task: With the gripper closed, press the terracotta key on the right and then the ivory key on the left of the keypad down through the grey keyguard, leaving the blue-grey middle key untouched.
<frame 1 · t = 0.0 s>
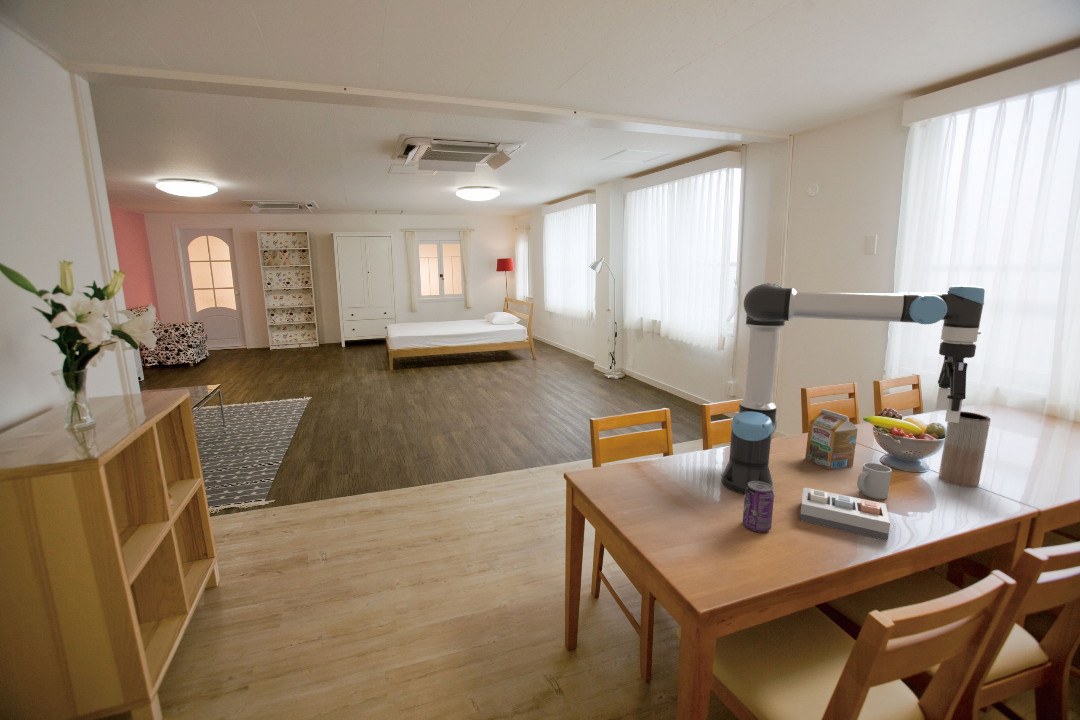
hand: (946, 415, 135), 28 cm above the table, fingers open, 13 cm apart
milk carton: (828, 463, 172), on the table
beverage can: (756, 527, 128), on the table
key mid: (843, 503, 131), point 5 cm above the table, slide at 0.0 cm
cup: (869, 495, 147), on the table
key right: (869, 508, 128), point 5 cm above the table, slide at 0.0 cm
planter: (958, 481, 157), on the table
keypad: (841, 520, 132), on the table
key left: (818, 498, 134), point 5 cm above the table, slide at 0.0 cm
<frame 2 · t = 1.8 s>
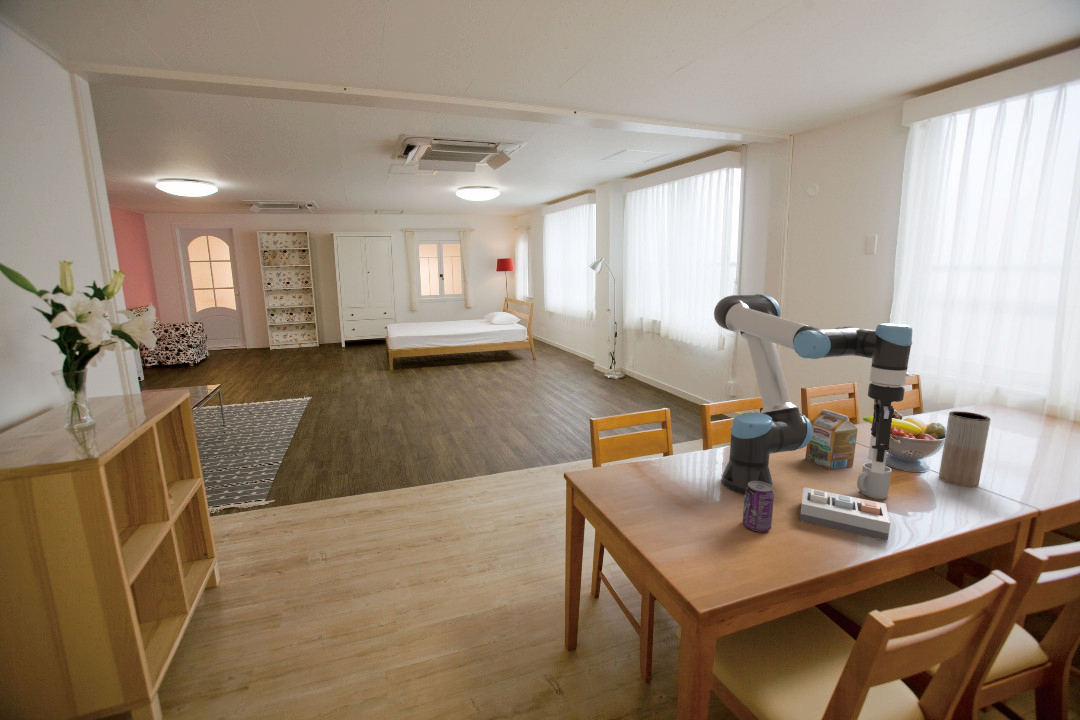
hand: (875, 465, 126), 17 cm above the table, fingers open, 9 cm apart
nothing on the table moved.
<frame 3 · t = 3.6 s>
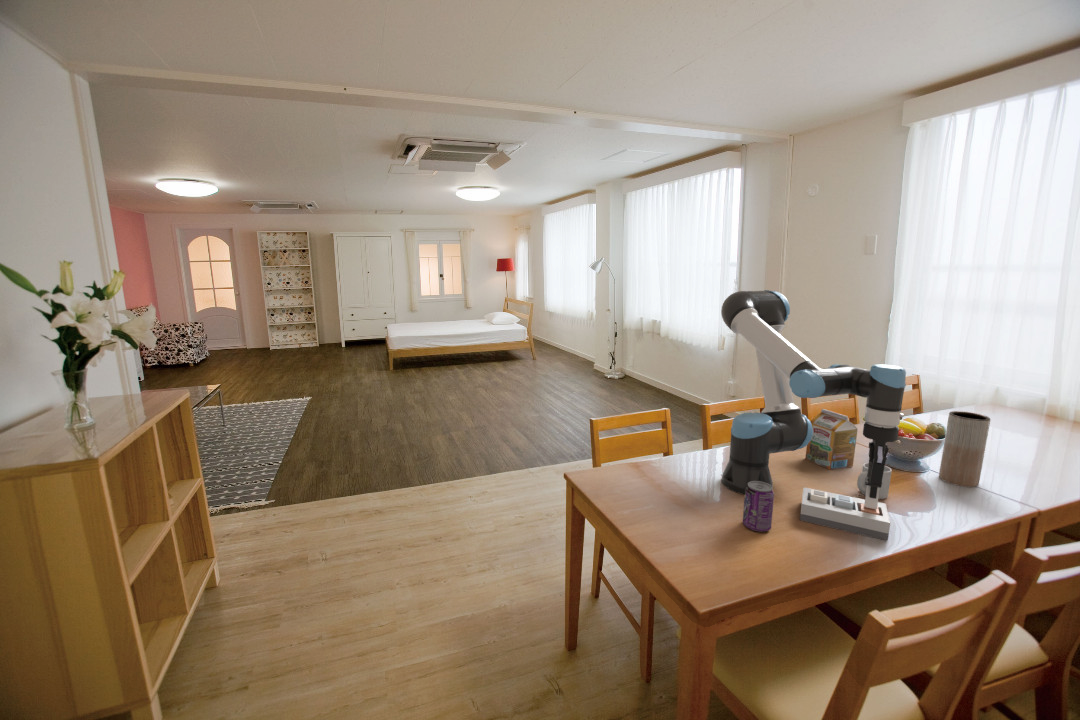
hand: (870, 507, 128), 6 cm above the table, fingers closed
key right: (869, 513, 128), point 4 cm above the table, slide at 1.3 cm
everything else where it was.
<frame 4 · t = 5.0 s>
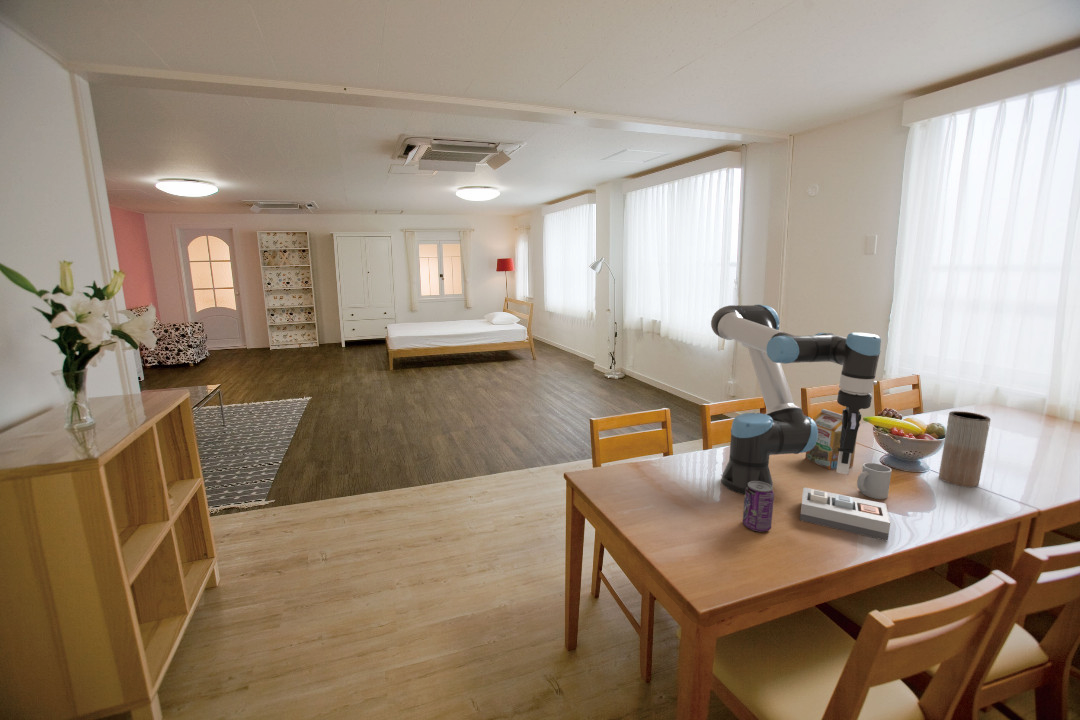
hand: (842, 472, 131), 14 cm above the table, fingers closed
nothing on the table moved.
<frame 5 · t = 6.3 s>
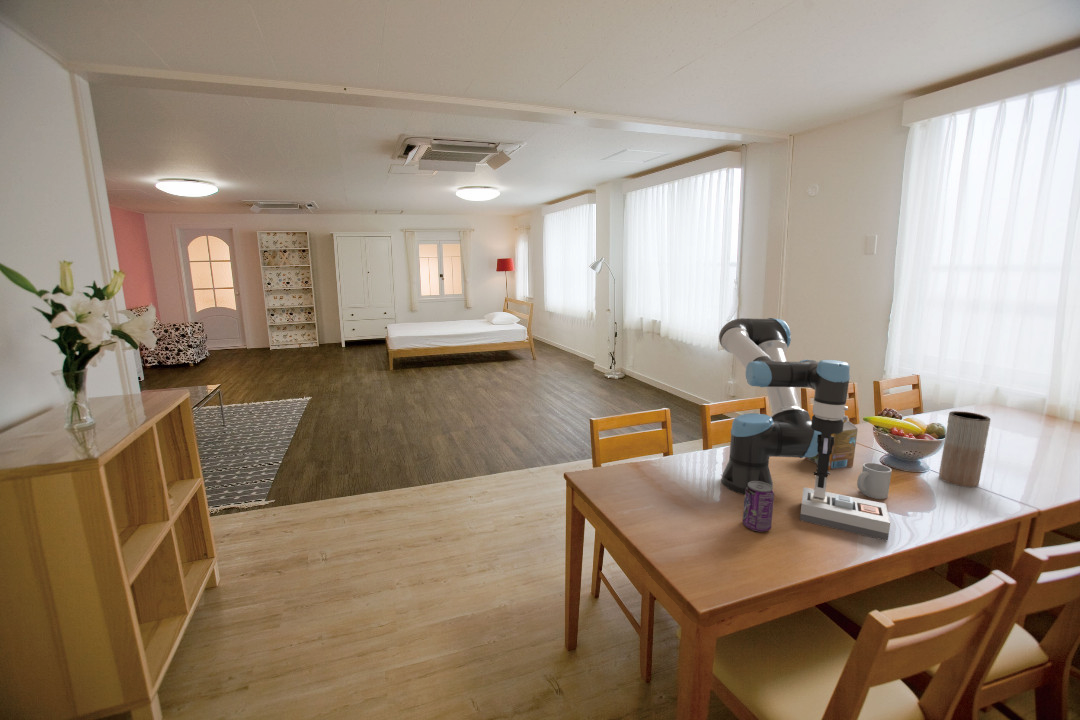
hand: (819, 496, 134), 6 cm above the table, fingers closed
key left: (818, 502, 134), point 4 cm above the table, slide at 1.2 cm, touching gripper
everything else where it was.
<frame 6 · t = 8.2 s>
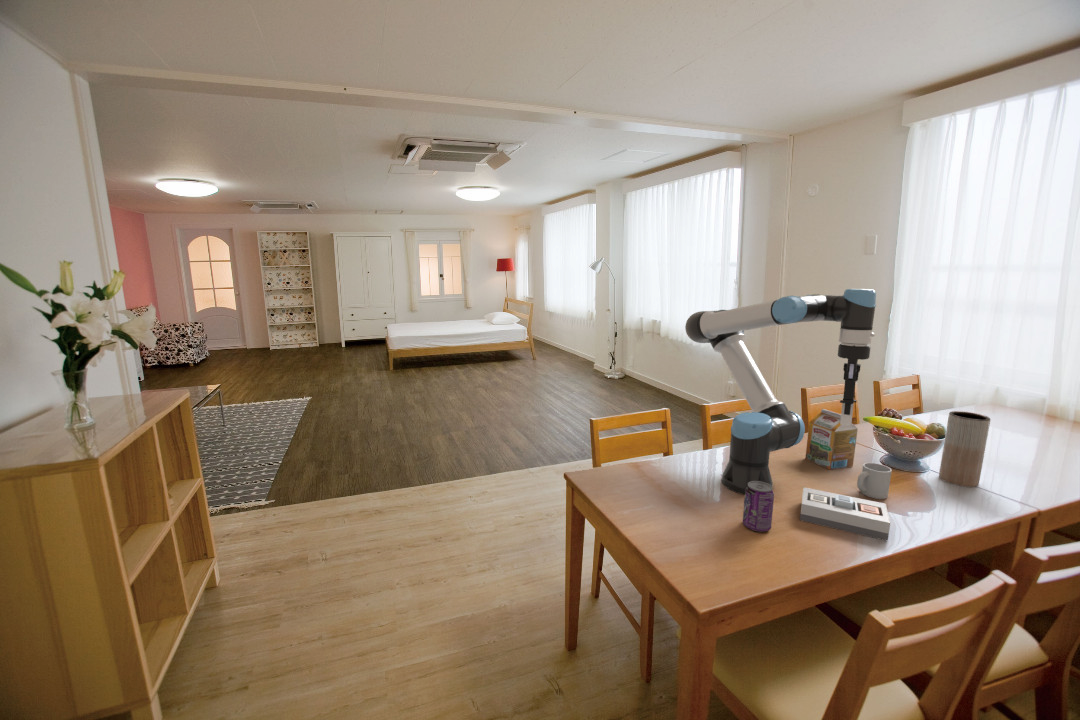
hand: (845, 424, 137), 25 cm above the table, fingers closed
key left: (818, 502, 134), point 4 cm above the table, slide at 1.4 cm
everything else where it was.
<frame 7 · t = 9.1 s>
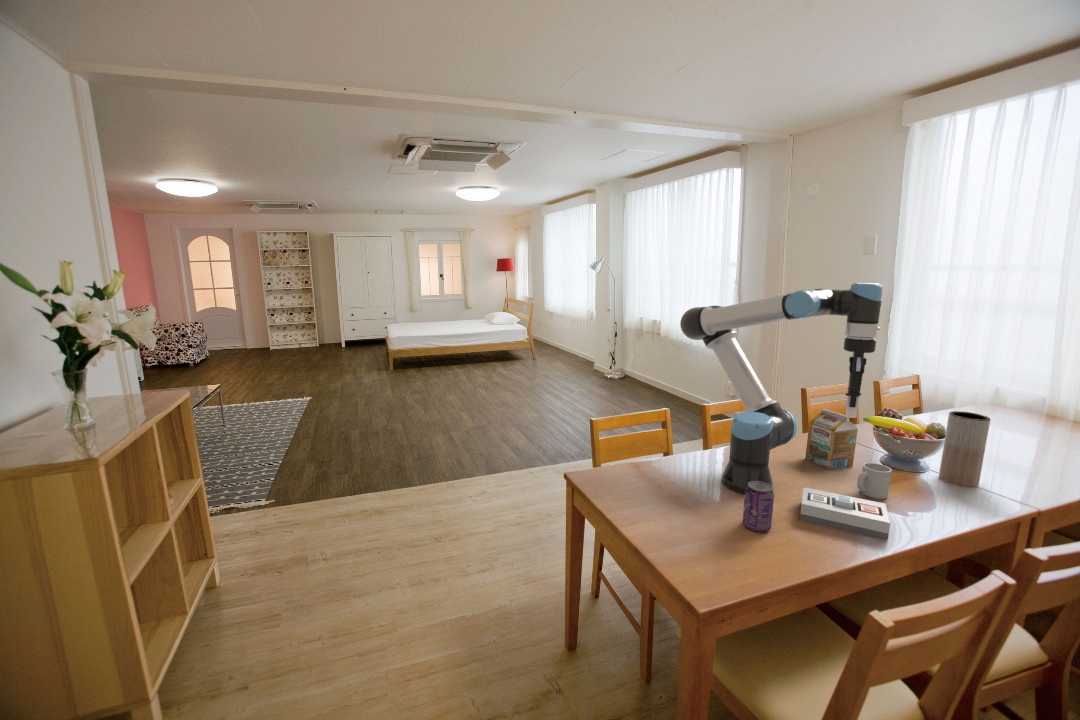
hand: (850, 416, 139), 26 cm above the table, fingers closed
nothing on the table moved.
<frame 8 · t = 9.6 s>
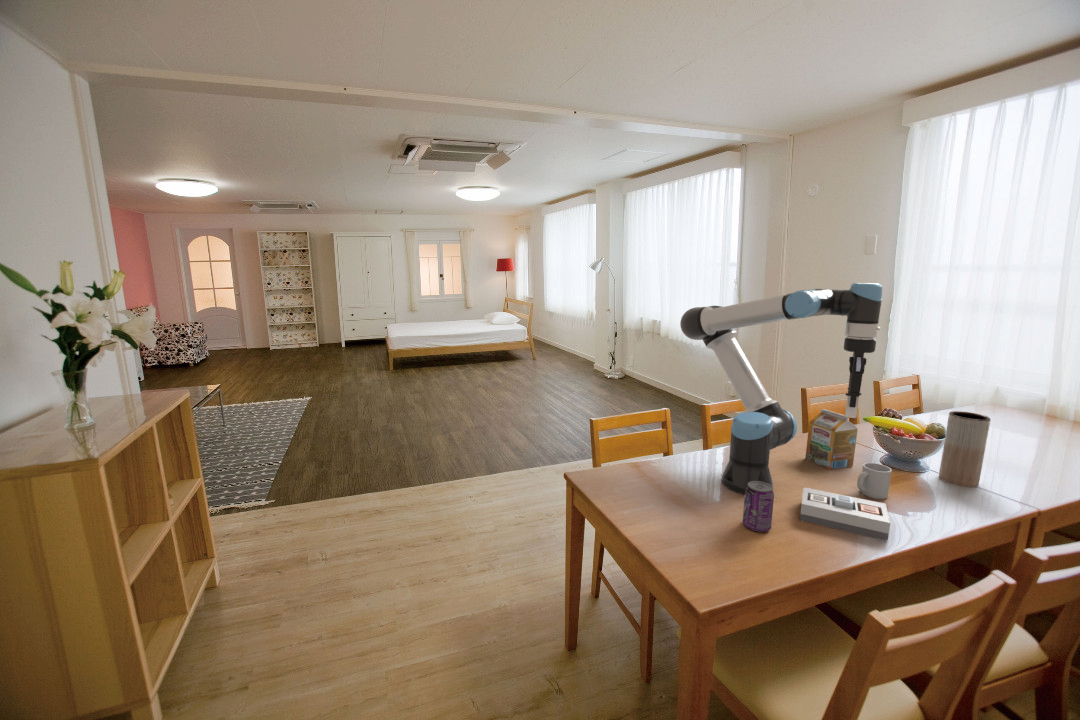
hand: (850, 416, 139), 26 cm above the table, fingers closed
nothing on the table moved.
at the end: key right slide at 1.4 cm; key left slide at 1.4 cm; key mid slide at 0.0 cm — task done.
